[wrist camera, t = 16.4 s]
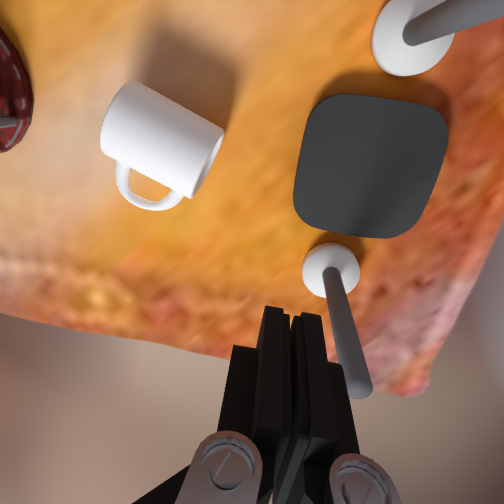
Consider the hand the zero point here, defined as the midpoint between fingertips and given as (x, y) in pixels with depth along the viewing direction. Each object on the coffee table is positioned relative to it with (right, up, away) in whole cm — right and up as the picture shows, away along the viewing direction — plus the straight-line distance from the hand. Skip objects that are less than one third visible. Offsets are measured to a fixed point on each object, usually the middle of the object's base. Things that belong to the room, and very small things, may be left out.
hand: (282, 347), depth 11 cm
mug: (-10, +15, +30) cm, 35 cm away
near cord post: (+14, +24, +22) cm, 35 cm away
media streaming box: (+12, +13, +29) cm, 33 cm away
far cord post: (+9, +1, +34) cm, 35 cm away
